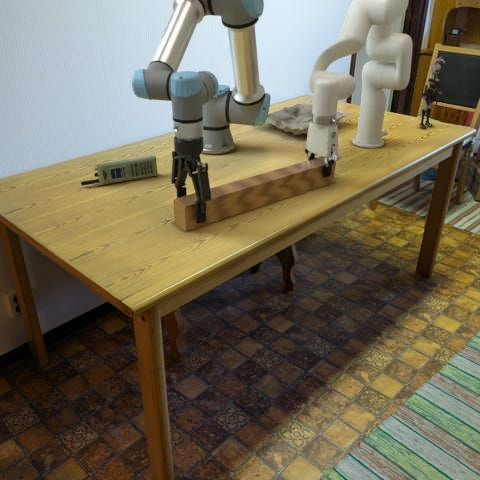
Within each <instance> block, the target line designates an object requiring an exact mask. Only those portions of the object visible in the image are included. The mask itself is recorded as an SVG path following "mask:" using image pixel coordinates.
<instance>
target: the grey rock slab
mask: <svg viewBox="0 0 480 480" xmlns="http://www.w3.org/2000/svg"><path fill="white" fill-rule="evenodd" d="M312 106H313V104H307V103H304V104H302V103H297V104H294V105H292V106H289V107H287V106H285V107H282V108H281V109H280V110H276V111H273V112H271V113H268V116H267V120H266V122H265V123H268V124H271V125H273V126H275V127H276V128H277V130H279V131H284V132H285V133H287V134H288V133H291V134H293V136H295V135H302V134H306V135H307V134H308V129H309V125H310V122H311V118H312ZM348 116H350V113H344V112H339V111H337V114H336V119H337V120H338V122H337V123H336V124H335V125H337V126H339V124H340V121H341V120H342V119H344V118H345V117H348Z"/></svg>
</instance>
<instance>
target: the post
mask: <svg viewBox="0 0 480 480" xmlns="http://www.w3.org/2000/svg"><path fill="white" fill-rule="evenodd" d="M328 161H330V160H329V158H328ZM336 164H337V161H336V162H335V163H334V164H333V165H332V169H331V176H328V177H325V178H324V177H323V167H324V166H325V161H324V157H322V156H319V157H316V158H315V159H311V160H308V159H307V160H304V161H301V162H298V163H295V164H294V163H293V164H291V165H287V166H284V167H280V168H277V169H273V170H270V171H266V172H263V173H259V174H257V175H253V176H248V177H245V178H241V179H239V180H235V181H232V182H228V183H224V184H221V185H217V186H214V187H210V191H211V198H212V199H211V200H210V201H206V221H205V222H202V223H199V224H197V223H196V202H195V201H197V196H196V193H195V192H194V193H190V194H187V195H186V196H183V197H179V198H177V197H175V198H173V200H172V201H173V216H174V217H173V219H174V224H175V225H176V226H178V227H179V228H180V229H182V230H183V231H184V232H188V231H192V230H195V229H197V228H201V227H203V226H206V225H209V224H213V223H215V222H219V221H221V220H224V219H228V218H230V217H235V216H237V215H240V214H243V213H246V212H249V211H252V210H254V209H258V208H260V207H264V206H268V205H270V204H272V203H275V202H279V201H282V200H285V199H288V198H291V197H295V196H297V195H301V194H304V193H306V192H309V191H312V190H315V189H318V188H321V187H324V186H327V185H330V184H333V183H334V182H335V173H336Z"/></svg>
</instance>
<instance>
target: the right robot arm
mask: <svg viewBox="0 0 480 480" xmlns="http://www.w3.org/2000/svg"><path fill="white" fill-rule="evenodd" d="M409 1H410V0H351V2H350V4H349V7H348V9H347V12H346V15H345V17H344V21H343V22H342V26H341V29H340V32H339V35H338V37H337V39H335V41H333V42H332V43H331V44H329V45H328V46H326V48H325V49H323V51H322V52H321V53H320V54H319V55H318V56H317V58H316V60H315V61H314V65H313V68H312V71H311V74H310V77H309V82H308V89H309V91H310V92H311V93H312V94H313V95H312V118H311V122H310V125H309V129H308V133H307V134H306V135H307V136H306V141H304V142H303V143H302V148H303V149H304V153H305V155H306V159H307V161H308V160H311V159H315V158H317V157H316V155H317V156H319V157H324V161H325V166H324V167H323V177H324V178H325V177H328V176H331V169H332V165H333V164H334V163H335V162H336V163H337V162H338V161H339V160H340V159H341V156H340V153H339V151H338V150H339V127H338V125H335V124H336V123H337V122H338V120H337V119H336V114H337V112H338V102H339V101H341V100H342V101H343V100H346V99H349V98H350V97H351V96H352V95H353V94H354V92H355V90H356V88H357V87H356V82H357V81H356V79H355V78H354V76H353V75H351V74H348V73H342V72H335V71H329V70H327V69H328V68H329V67H330V65H332V64H333V63H334V62H336V61H337V60H340V59H342V58H345V57H348V56H350V55H354V54H357V53H359V52H361V51H362V50H363V49H364V47H365V46H366V50H365V51H366V55H367V57H368V58H369V59H372V60H369V61H367V62H366V63H364V65H363V67H362V69H361V97H360V104H359V112H358V118H357V119H358V120H357V127H356V135H355V136H354V137H352V138H351V143H352V144H353V145H355V146H357V147H359V148H367V149H377V148H380V147H384V145H385V141H384V139H383V137H384V136H387V135H388V134H389V133H388V131H387V130H383V125H384V119H385V113H386V105H387V97H386V93H385V91H384V90H383V89H385V90H393V91H404V90H405V89H407V87H408V85H409V83H410V79H411V72H412V70H411V69H412V58H413V47H414V45H413V39H412V37H411V36H410V35H409V34H407V33H403V32H402V33H401V32H393V30H392V27H393V24H394V23H396V22H397V21H398V20H400V19H401V17H402V16H403V15H404V14H405V13H406V11H407V9H408V7H409ZM328 158H329V160H330V161H328Z"/></svg>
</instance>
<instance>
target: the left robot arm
mask: <svg viewBox="0 0 480 480" xmlns="http://www.w3.org/2000/svg"><path fill="white" fill-rule="evenodd" d="M264 8H265V2H264V0H174V1H173V4H172V9H173V12H172V13H171V16H170V18H169V20H168V22H167V25H166V26H165V28H164V31H163V33H162V35H161V37H160V40H159V42H158V44H157V47H156V48H155V51H154V53H153V55H152V58H151V60H150V61H149V63H148V65H147V67H146V68H140V69H137V70H135V71H134V72H133V75H132V76H131V77H132V78H131V88H132V92H133V93H134V96H136V97H137V98H138V99H144V100H148V101H152V100H153V101H164V102H165V101H168V102H171V110H172V130H173V136H174V137H173V149H174V150H173V151H171V157H172V161H171V163H172V164H171V178H170V182H171V184H172V185H174V188H175V189H176V198H179V197H183V196H186V195H188V194H187V192H188V191H187V187H186V186H187V183H186V181H187V178H188V177H189V178H191V181H192V185H193V188H194V189H193V190H194V193H196V196H197V201H195V202H196V223H197V224H199V223H202V222H205V221H206V201H210V200H211V199H212V198H211V191H210V188H211V185H210V184H211V183H210V178H209V164H208V163H207V162H205V163H203V162H202V159H201V154H204V155H225V154H228V153H232V152H233V151H234V150H235V140H234V138H233V135H232V132H231V128H230V127H231V125H230V124H232V125H242V126H251V127H255V126H256V127H262V126H264V125H265V124H266V123H267V122H266V120H267V116H268V115H269V112H270V106H271V94H270V93H268V92H266V91H265V87H264V85H262V83H260V72H259V62H258V61H259V59H258V48H257V36H256V24H257V23H258V22H259V19H260V17H262V15H263V13H264ZM207 16H214V17H215V16H216V17H220V19H221V24H222V26H224V28H226V29H227V34H228V41H229V50H230V58H231V65H232V72H233V79H234V87H233V88H232V90H231V88H230V85H226V84H219V80H218V78H217V76H216V75H215V74H214V73H212V72H211V71H208V70H199V71H192V70H183V71H181V70H180V71H178V70H179V67H180V65H181V63H182V60H183V59H184V56H185V53H186V52H187V49H188V46H189V43H190V42H191V40H192V37H193V35H194V32H195V30H196V28H197V25H198V24H200V23H201V22H202V21H203V20H204V18H205V17H207Z"/></svg>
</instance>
